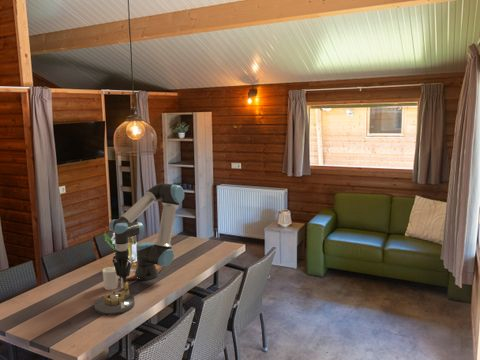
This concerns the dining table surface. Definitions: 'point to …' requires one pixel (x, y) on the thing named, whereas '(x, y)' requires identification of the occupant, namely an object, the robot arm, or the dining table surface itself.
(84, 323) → the dining table surface
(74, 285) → the dining table surface
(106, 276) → the candle holder
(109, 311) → the bearing cap
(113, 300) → the brass lugged wrench
